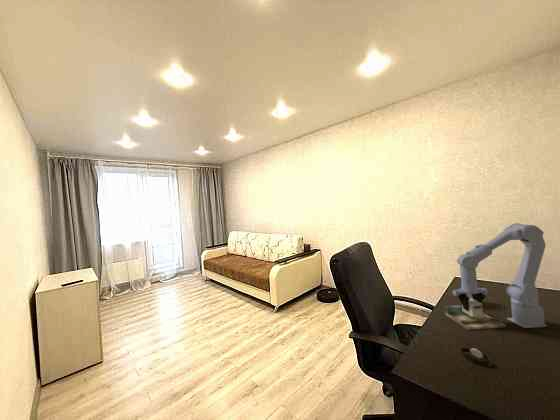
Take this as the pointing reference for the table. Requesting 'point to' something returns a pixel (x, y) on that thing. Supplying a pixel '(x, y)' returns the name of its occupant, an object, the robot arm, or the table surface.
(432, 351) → the table surface
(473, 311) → the beige rectangular block
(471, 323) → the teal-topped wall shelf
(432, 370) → the table surface
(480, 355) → the watch
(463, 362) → the table surface
